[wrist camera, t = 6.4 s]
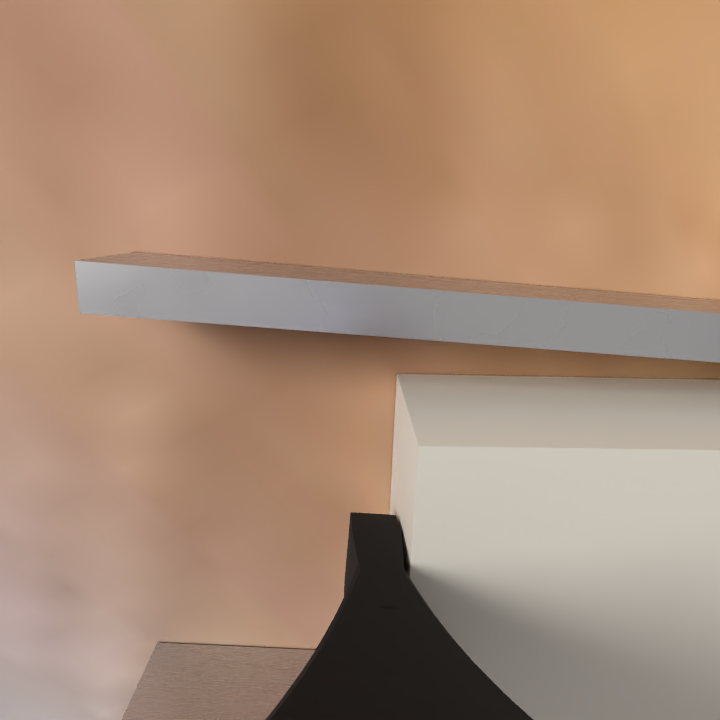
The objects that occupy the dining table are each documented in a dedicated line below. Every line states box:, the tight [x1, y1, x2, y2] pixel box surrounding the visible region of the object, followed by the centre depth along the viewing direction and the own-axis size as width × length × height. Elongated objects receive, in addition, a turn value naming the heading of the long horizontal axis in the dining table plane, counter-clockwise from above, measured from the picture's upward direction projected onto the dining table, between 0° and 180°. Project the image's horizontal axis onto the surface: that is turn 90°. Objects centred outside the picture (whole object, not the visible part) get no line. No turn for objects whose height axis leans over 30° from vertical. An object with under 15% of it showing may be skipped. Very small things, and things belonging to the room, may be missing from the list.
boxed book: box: [390, 374, 720, 720], centre depth 11 cm, size 8×12×4 cm, turn 89°
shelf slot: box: [75, 252, 720, 720], centre depth 9 cm, size 13×20×8 cm, turn 85°
